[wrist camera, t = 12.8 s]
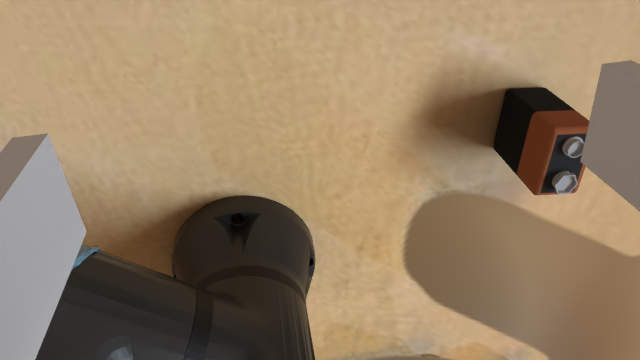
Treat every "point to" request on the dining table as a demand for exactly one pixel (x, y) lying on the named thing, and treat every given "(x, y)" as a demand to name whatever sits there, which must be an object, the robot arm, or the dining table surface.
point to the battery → (542, 140)
